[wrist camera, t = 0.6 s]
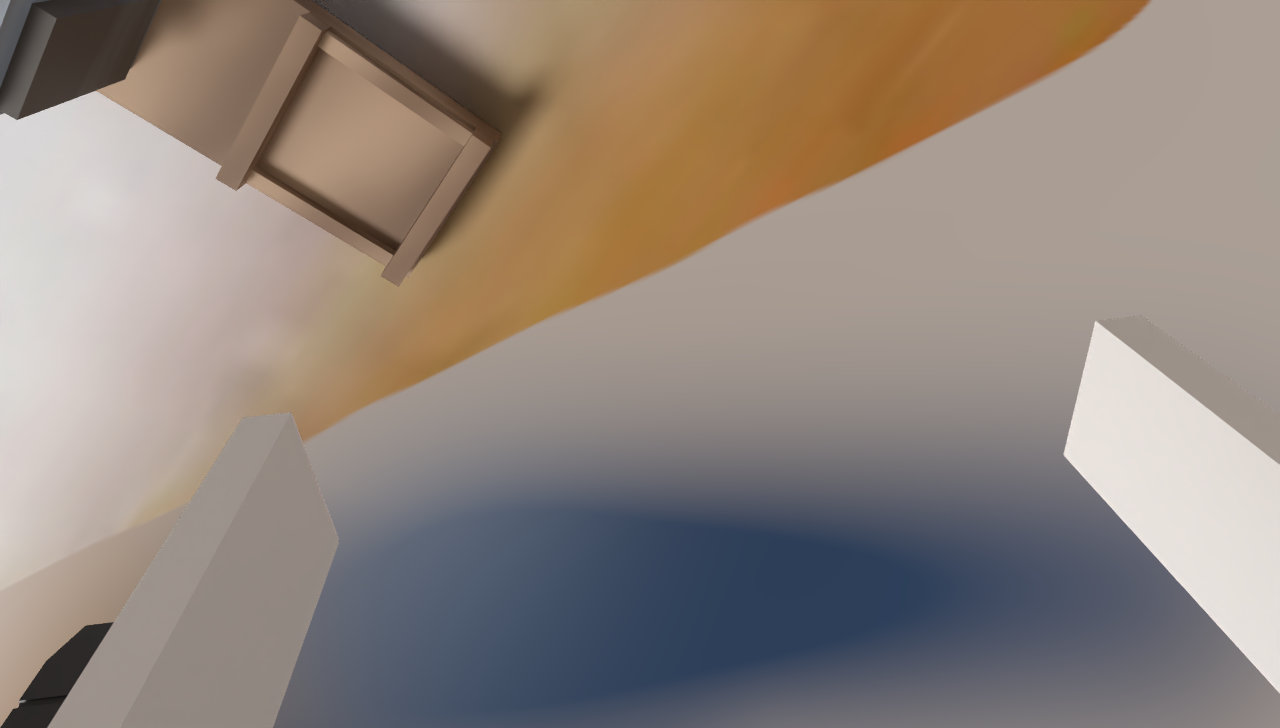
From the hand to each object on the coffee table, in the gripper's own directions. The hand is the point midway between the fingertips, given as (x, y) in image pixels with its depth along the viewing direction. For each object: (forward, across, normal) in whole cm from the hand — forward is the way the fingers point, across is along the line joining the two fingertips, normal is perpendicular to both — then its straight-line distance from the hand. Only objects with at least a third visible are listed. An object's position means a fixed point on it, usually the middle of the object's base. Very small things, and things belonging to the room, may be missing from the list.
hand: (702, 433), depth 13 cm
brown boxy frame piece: (+22, -14, +4) cm, 26 cm away
